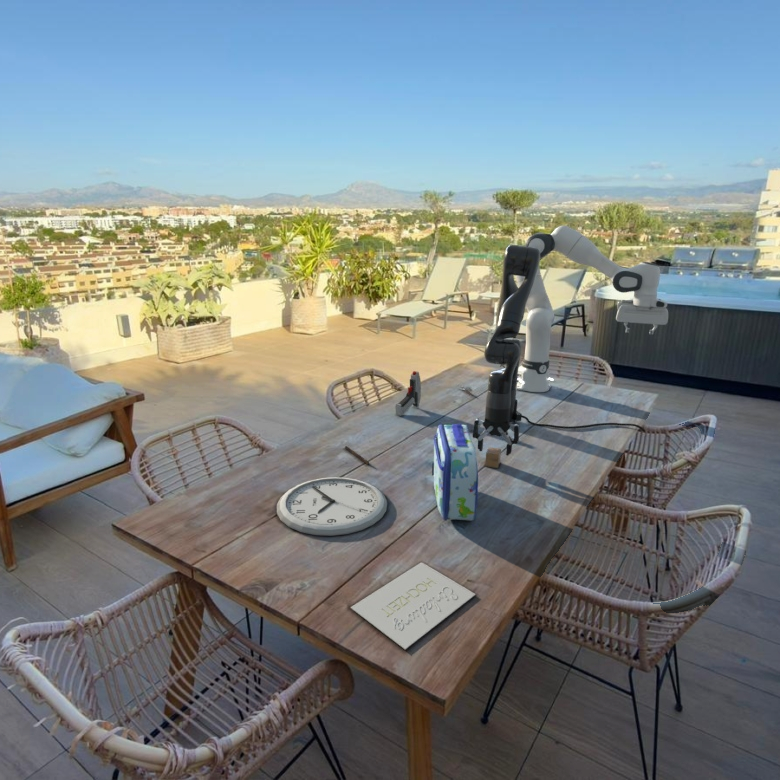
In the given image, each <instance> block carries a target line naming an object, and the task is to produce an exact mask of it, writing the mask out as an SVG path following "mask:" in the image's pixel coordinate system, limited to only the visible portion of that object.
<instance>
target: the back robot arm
mask: <svg viewBox="0 0 780 780" xmlns="http://www.w3.org/2000/svg"><path fill="white" fill-rule="evenodd" d="M524 246H527V247H534V248H537V249H539V250H540V261H542V260H543V259H544V258H546V257H547V256H549V254H551V252H553V251H555V252H558V253H560V254H562V255H563V256H565V257H566V258H567V259H569V260H571V261H572V262H574V263H577V264H578V265H582V266H583V265H585V266H588V267H591V268H593V269H595V270H597V271H598V272H600V273H601V274H603V275H604V276H606V277H607V278H608V279H610V281H611V282H612V286H613V288H614V289H615V291H617V292H619V293H625V294H626V293H631V292H633V299H632V300H625V299H621V300H620V301H618V302H617V305H616V309H617V312H616V316H615V320H616V321H617V322H618V323H623V325H624V328H625V334H626V333H629V334H630V330H631V328H630V327H628V324H630V323H632V324H645V325H653V328H652V329H649V332H648V334H649V335H654V332H655V331H656V329H657V328H658V327H659V325H661V326H666V325H667V324H668V321H669V311H668V308H667V307H668V302H667V301H665V300H663V299H661V298H658V287H659V285H660V278H661V268H660V267H659V265H658V264H656V263H653V262H648V261H641V262H640V263H638V264H636V265H634V266H631V267H626V266H621V265H618V264H617V263H615V262H614V261H613V260H611V259H610V258H608V257H607V256H606V255H604V254H603V253H602V252H601V251H600V250H599V249H598V247H597V246H596V245H595V243H594V242H592V241H591V240H590V239H589V238H588V237H586V235H584V234H582V233H581V232H579V231H577V230H576V229H574V228H572V227H570V226H567V225H559V226H558V227H556V228H554V230H553V231H552V232H551V233H545V232H536V233H534V234H531V235H530V236H529V237H528V238H527V239H526V241H525V244H524ZM514 278H515V282H516V285H517V287H518V288H519V287H520V286H521V284H522V283H523V281H524V279H525V277H524V276H517V275H514ZM525 310H526V311H527V315H526V320H525V349H524V358H522V359H520V361H521V365H519V368H518V378H517V389H516V391H524V392H529V393H545V392H548V391H549V390H550V388H552V385H551V383H550V381H552V382H553V381H554V378H551V377H550V370H549V368H550V353H551V352H550V351H551V333H552V329H551V328H552V325H553V323H554V322H555V312H554V309H553V306H552V303H551V301H550V299H549V296H548V293H547V290H546V287H545V283H544V279H543V277H542V273H541V270H540V265H539V266H538V270H537V273H536V277H535V280H534V283H533V286H532V289H531V292H530V294H529V297H528V300H527V302H526V306H525ZM499 367H503V368H506V365H500V364H499Z"/></svg>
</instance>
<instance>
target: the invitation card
mask: <svg viewBox="0 0 780 780" xmlns="http://www.w3.org/2000/svg"><path fill="white" fill-rule="evenodd" d="M475 596H476V593H474V591H471V590H469V589H468V588H466V587H464V586H463V585H461V584H459V583H458V582H456V581H454V580H453V579H451V578H449V577H448V576H446V575H444V574H442V573H441V572H439V571H438V570H436V569H434V568H432V567H430V566H429V565H427V564H426V563H424V562H419V563H417V564H416V565H414V566H413V567H412V568H410V569H408V570H407V571H405V572H404V573H402V574H400V575H399V576H397V577H396V578H394V579H392V580H391V581H390V582H388V583H386V584H385V585H383V586H382V587H380V588H378V589H377V590H375V591H373V592H372V593H370V594H369V595H367V596H366V597H364V598H363V599H361V600H359V601H358V602H356V603H355V604H354V605H352V606H350V609H351V610H352V611H353V612H355V613H356V614H357V615H358V616H360V617H361V618H363V619H364V620H365V621H367V622H368V623H369V624H371V625H372V626H373V627H374V628H376V629H377V630H379V631H380V632H381V633H382V634H383V635H385V636H386V637H388V638H389V639H390V640H391V641H393V642H394V643H395V644H397V645H398V646H399V647H401V648H402V649H403V650H405V651H406V650H407V649H408V648H409V647H412V645H413V644H415V643H416V642H418V640H420V639H421V638H422V637H424V636H425V635H427V633H429V632H430V631H431V630H432V629H434V628H435V627H436V626H438V625H439V624H440V623H442V622H443V621H444V620H446V618H448V617H449V616H450V615H452V614H453V613H454V612H456V611H457V610H458V609H459V608H461V607H462V606H463V605H465V604H466V603H467V602H468V601H470V600H471V599H472V598H473V597H475Z"/></svg>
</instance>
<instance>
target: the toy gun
mask: <svg viewBox="0 0 780 780" xmlns="http://www.w3.org/2000/svg"><path fill="white" fill-rule="evenodd" d="M421 394H422V381H421V376H420V372H419V371H416V370H413V371H412V372H411V374H410V379H409V386H408V387H407V393H406V395H405V396H404V397H403V398H402V399H401V400H400V401H399V402H398V403H395V415H396V416H399V417H402V416H404V415H405V414H406V413H407V412H408V411H409V409H410V408H411V407H412V406H413V407H414V408H417V409H419V407H420V402H421V396H422V395H421Z"/></svg>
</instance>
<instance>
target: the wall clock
mask: <svg viewBox="0 0 780 780" xmlns="http://www.w3.org/2000/svg"><path fill="white" fill-rule="evenodd" d="M387 509H388V500H387V498H386V496H385V494H384V493H383V492H382V491H381V490H380V489H379V488H377V487H376V486H374V485H372V484H371V483H369V482H365V481H362V480H359V479H355V478H349V477H338V476H337V477H335V476H333V477H332V476H331V477H322V478H317V479H312V480H307V481H305V482H302V483H299V484H297V485H295V486H293V487H292V488H290V489H288V490H287V491H286V492H285V493H284V494H283V495H281V496H280V498H279V499H278V502H277V503H276V515H277V517H278V518H279V520H280V521H281V522H282V523H283V524H285V525H286V526H287V527H288V528H290V529H293V530H295V531H297V532H299V533H303V534H308V535H312V536H327V537H328V536H329V537H331V536H332V537H333V536H342V535H350V534H352V533H356V532H361V531H363V530H366V529H368V528H369V527H372V526H373V525H375V524H376V523H378V522H379V521H380V520H381V519H382V518H383V517H384V516H385V514H386V512H387Z"/></svg>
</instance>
